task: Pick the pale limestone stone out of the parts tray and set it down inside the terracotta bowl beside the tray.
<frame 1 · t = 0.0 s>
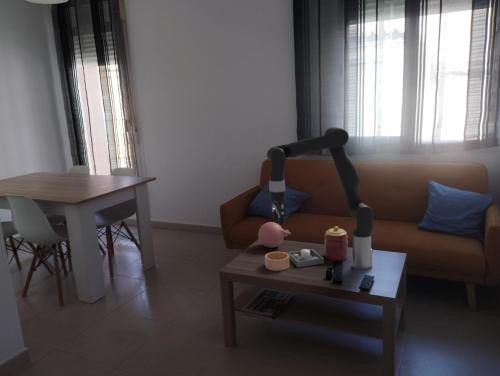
hand: (278, 222, 198), 29 cm above the table, fingers open, 8 cm apart
small pebble B: (295, 257, 229), point 1 cm above the table, touching parts tray
pale stone: (305, 259, 226), point 1 cm above the table, touching parts tray
black bracket: (329, 278, 205), on the table
small pebble A: (315, 261, 223), point 1 cm above the table, touching parts tray
canister: (336, 256, 230), on the table
balloon: (275, 247, 249), on the table
terracotta bowl: (277, 266, 220), on the table
parts tray: (305, 260, 226), on the table
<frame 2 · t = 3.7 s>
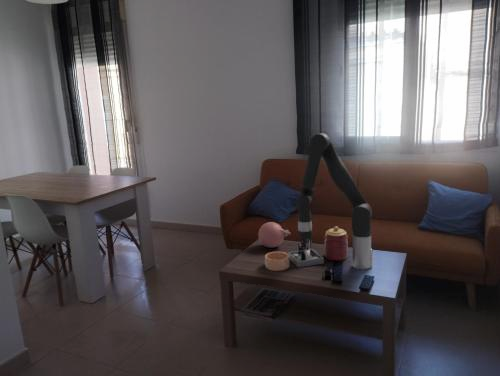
hand: (305, 258, 226), 1 cm above the table, fingers closed on pale stone, 5 cm apart
pale stone: (305, 259, 226), point 1 cm above the table, touching gripper, parts tray
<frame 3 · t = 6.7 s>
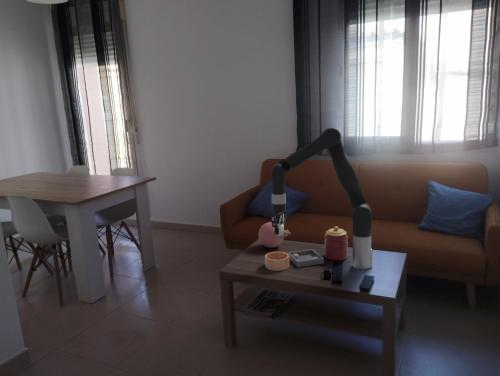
hand: (279, 232, 218), 18 cm above the table, fingers closed on pale stone, 5 cm apart
pale stone: (279, 233, 218), point 18 cm above the table, touching gripper
when the fingers open (4 cm above the table, at t = 10.8 s): pale stone stays where it is, resting on terracotta bowl.
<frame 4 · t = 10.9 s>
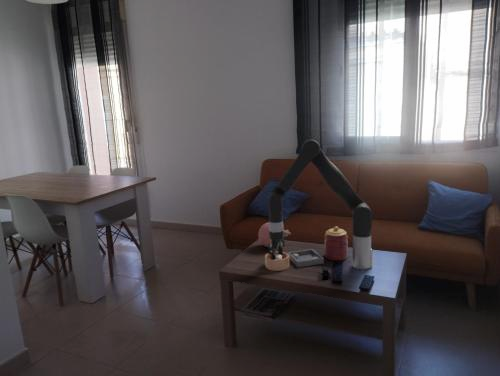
hand: (277, 258, 220), 4 cm above the table, fingers open, 8 cm apart
pale stone: (277, 264, 220), point 1 cm above the table, touching terracotta bowl
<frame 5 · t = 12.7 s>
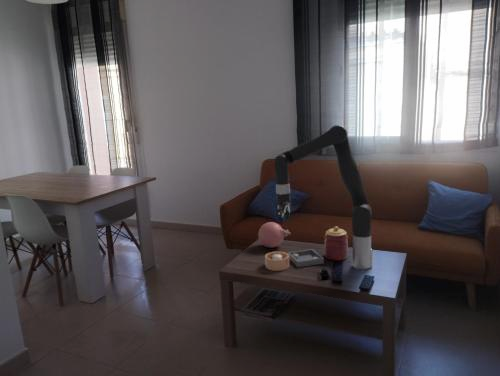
hand: (284, 221, 221), 23 cm above the table, fingers open, 8 cm apart
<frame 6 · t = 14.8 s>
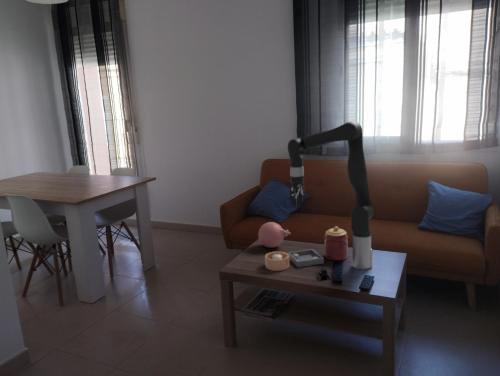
hand: (297, 203, 230), 30 cm above the table, fingers open, 8 cm apart
at the end: pale stone 0.1 cm from the terracotta bowl (horizontally); pale stone point 0.8 cm above the table; the gripper is holding nothing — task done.
